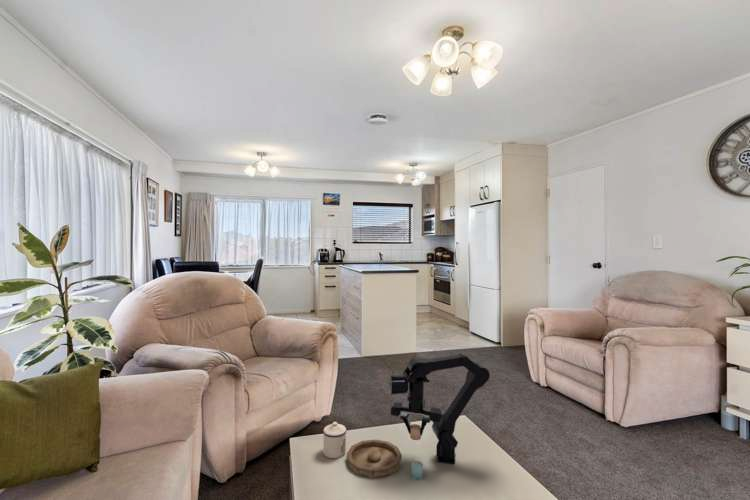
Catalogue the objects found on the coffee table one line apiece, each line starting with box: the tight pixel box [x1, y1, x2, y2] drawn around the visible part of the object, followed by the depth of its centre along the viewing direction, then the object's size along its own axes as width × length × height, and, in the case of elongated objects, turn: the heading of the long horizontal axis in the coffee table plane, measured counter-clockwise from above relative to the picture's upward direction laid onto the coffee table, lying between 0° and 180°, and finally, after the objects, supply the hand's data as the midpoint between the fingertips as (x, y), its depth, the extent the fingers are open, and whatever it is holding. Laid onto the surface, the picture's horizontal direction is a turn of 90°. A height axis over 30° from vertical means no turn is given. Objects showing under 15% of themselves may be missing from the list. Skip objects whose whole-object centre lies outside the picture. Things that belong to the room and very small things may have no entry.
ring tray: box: [346, 439, 403, 479], centre depth 133 cm, size 20×20×3 cm
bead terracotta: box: [409, 423, 422, 441], centre depth 133 cm, size 4×4×4 cm
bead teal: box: [410, 460, 424, 480], centre depth 124 cm, size 4×4×4 cm
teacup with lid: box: [322, 421, 347, 459], centre depth 140 cm, size 12×9×12 cm
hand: (415, 434), depth 133 cm, fingers closed on bead terracotta, 4 cm apart
